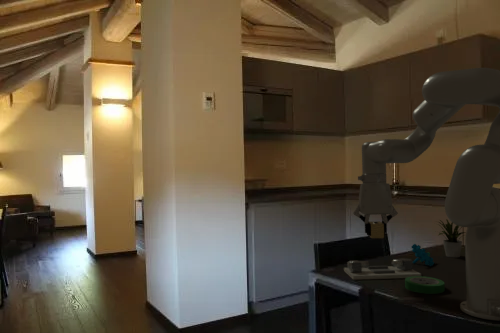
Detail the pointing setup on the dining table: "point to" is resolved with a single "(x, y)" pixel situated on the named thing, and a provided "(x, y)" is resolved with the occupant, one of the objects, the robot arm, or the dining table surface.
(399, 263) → the shaft right
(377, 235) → the tan box with knob
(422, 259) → the dark teal lobed piece
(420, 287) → the tape roll
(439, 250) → the dining table surface
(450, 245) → the house plant
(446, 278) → the dining table surface
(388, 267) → the mounting base plate
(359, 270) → the shaft left
